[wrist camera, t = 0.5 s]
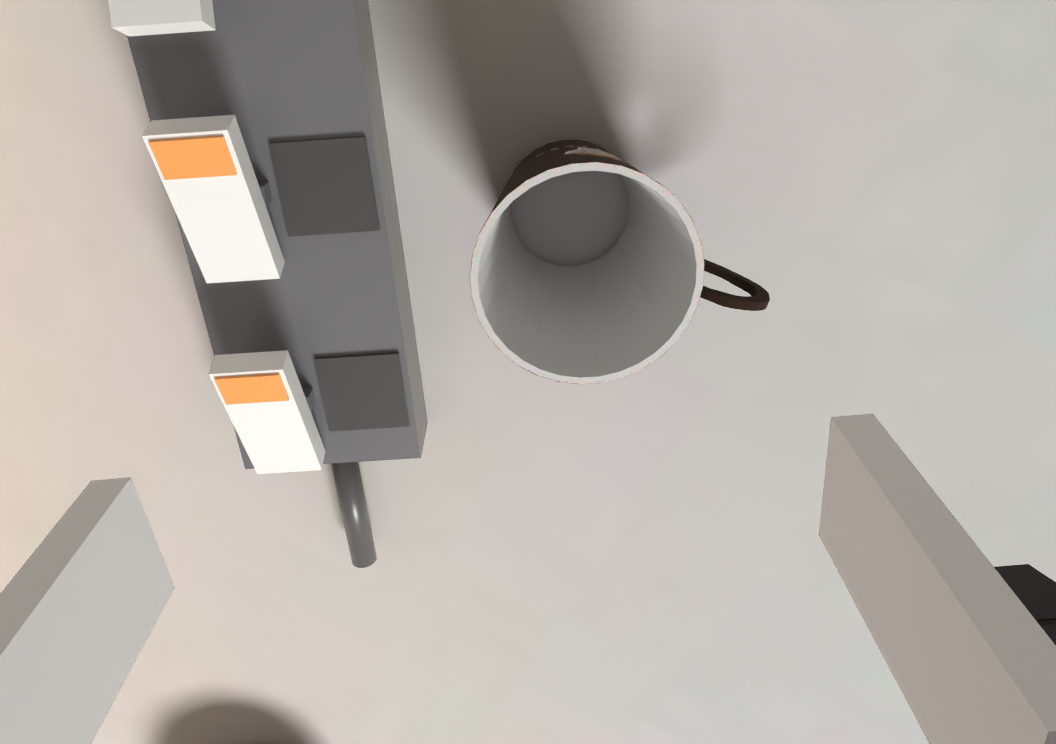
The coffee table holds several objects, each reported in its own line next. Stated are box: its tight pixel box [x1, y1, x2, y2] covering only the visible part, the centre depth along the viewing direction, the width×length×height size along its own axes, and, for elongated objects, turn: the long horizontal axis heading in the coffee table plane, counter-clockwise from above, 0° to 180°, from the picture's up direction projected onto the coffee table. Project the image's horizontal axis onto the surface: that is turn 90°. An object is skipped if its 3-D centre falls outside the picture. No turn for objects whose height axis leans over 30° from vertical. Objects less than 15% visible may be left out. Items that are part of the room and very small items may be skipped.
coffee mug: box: [470, 140, 770, 384], centre depth 34 cm, size 12×9×10 cm
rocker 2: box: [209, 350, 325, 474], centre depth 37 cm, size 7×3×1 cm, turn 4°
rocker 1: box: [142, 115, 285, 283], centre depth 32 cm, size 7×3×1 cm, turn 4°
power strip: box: [127, 0, 427, 568], centre depth 37 cm, size 36×9×4 cm, turn 4°
